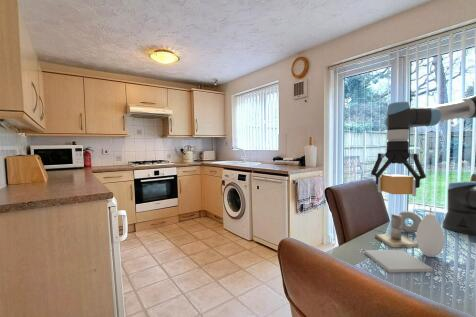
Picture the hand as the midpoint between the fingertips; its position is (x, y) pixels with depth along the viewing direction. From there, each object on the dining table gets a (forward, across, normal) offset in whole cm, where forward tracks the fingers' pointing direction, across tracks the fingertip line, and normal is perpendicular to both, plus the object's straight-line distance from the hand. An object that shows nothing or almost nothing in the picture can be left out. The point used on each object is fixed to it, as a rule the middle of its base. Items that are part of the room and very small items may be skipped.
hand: (396, 193), depth 98 cm
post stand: (+20, 0, -1) cm, 20 cm away
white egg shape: (+21, -12, +6) cm, 24 cm away
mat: (+20, -5, +19) cm, 28 cm away
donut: (+21, -1, -18) cm, 27 cm away
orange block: (-1, 0, 0) cm, 1 cm away
